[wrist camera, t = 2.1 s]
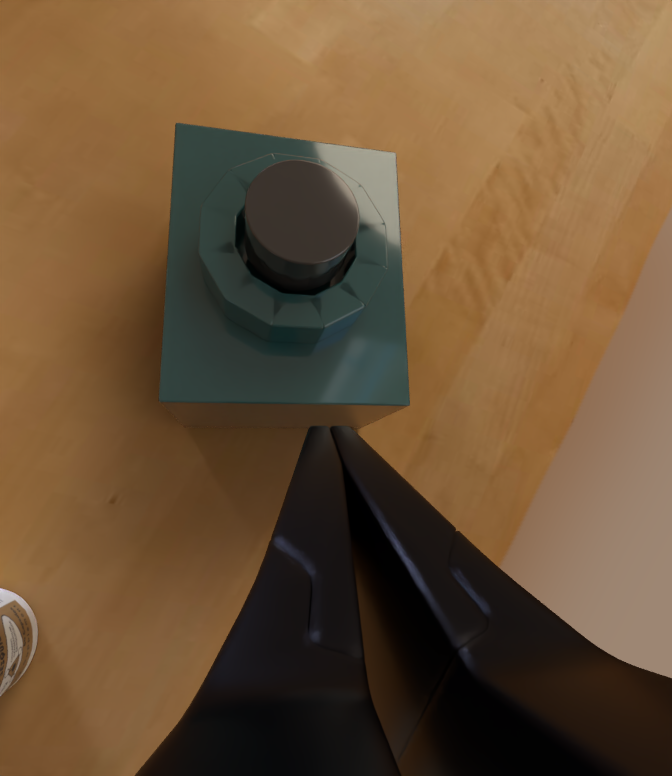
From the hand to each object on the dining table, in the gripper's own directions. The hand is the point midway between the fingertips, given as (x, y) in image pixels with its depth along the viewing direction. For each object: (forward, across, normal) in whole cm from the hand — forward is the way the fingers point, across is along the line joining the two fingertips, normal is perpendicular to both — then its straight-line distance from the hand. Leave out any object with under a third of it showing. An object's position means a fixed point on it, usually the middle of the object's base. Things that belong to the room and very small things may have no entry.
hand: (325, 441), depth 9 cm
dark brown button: (+9, 0, -2) cm, 9 cm away
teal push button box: (+15, 0, +4) cm, 16 cm away
